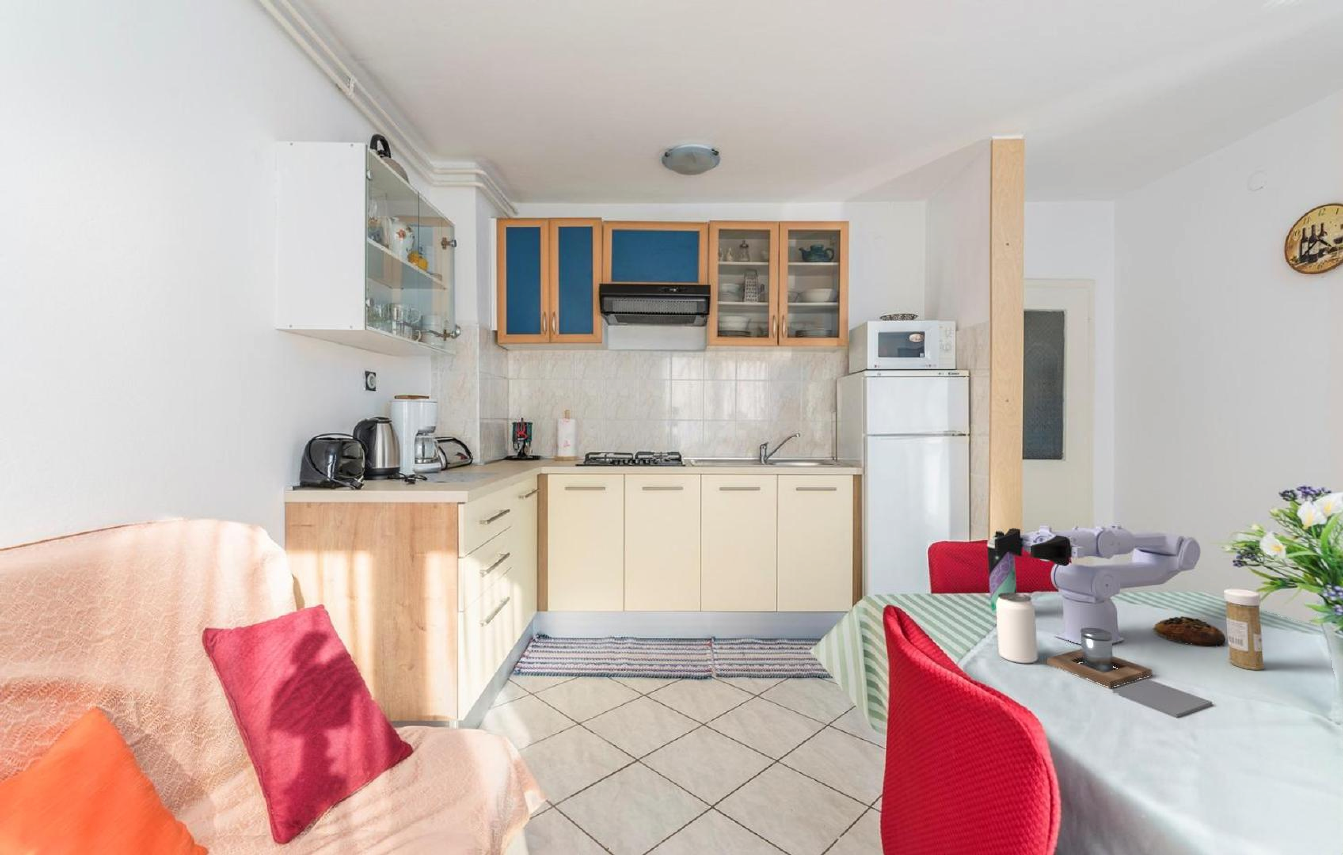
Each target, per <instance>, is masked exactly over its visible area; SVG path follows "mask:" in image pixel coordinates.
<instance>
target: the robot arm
mask: <svg viewBox="0 0 1343 855" xmlns="http://www.w3.org/2000/svg"><path fill="white" fill-rule="evenodd" d="M995 549H996V550H1000V551H1007V552H1009V553H1010V554H1012V555H1014V556H1018V557H1023V551H1025V552H1027V553H1028V554H1030V558H1034V559H1038V560H1041V561H1043V562H1052V563H1053V564H1054V565H1053V566H1052V568H1051V572H1050V578H1051V579H1050V580H1051V583H1052V585H1053V587H1054V588H1055V589H1056V590H1058V595H1062V596H1061V597H1062V598H1061V599H1062V612H1063V624H1064V625H1063V631H1060V632H1057V633H1054V637H1056V638H1059V639H1062V640H1065V641H1068V640H1069V641H1068V642H1070V641H1071V643H1073V642H1074V644H1076V643H1079V644H1081V629H1082V628H1097V629H1102V630H1105V631H1108V632H1110V633H1111V636H1112V643H1114V644H1117V643H1120V642H1119V641H1121V642H1123V641H1124V638H1123V637H1121V636H1119V622H1118V620H1119V619H1118V609H1117V607H1116V604H1115V603H1114V601H1113V600H1112V599H1111V598H1112V597H1114V596H1116V595H1117V596H1118V595H1120V591H1121V589H1131V588H1132V589H1133V588H1141V587H1149V586H1150V587H1151V586H1159V585H1163V584H1165V583H1167V582H1169V581H1170V580H1171V579H1173V578H1174V577H1175V576H1176V575H1179V574H1180V573H1182V572H1185V571H1190V570H1194V569H1195V567H1196V566H1197V564H1198V562H1199V560H1200V557H1201V547H1200V543H1199V542H1198V541H1197V540H1196V539H1195V538H1194V537H1192V536H1187V537H1186V536H1182V535H1177V534H1172V533H1165V532H1160V531H1159V532H1158V531H1151V530H1136V531H1129V530H1128V529H1126V528H1125V527H1124V528H1123V527H1122V526H1121V525H1119V524H1110V525H1109V527H1105V526H1102V525H1101V526H1100V525H1097V526H1095V528H1088V527H1082V526H1081V527H1079V526H1073V527H1072V528H1071V529H1061V530H1052V527H1051V526H1049V525H1040V526H1039V530H1036V531H1033V532H1028V533H1022V534H1021V529H1020V528H1017V527H1016V528H1014V527H1013V528H1009V529H1008V531H1007V532H1006V533H1004V535H1003V536H1001V537H999V538H996V539H995ZM1131 552H1133V553H1132V558H1131V562H1123V563H1113V564H1112V563H1111V564H1110V563H1109V564H1100V565H1088V564H1079V563H1073V562H1070V559H1084V557H1094V558H1099V559H1100V558H1101V559H1107V560H1110V559H1112V558H1113V556H1117V555H1120V556H1121V555H1127V554H1130V553H1131ZM1122 640H1123V641H1122ZM1116 642H1117V643H1116ZM1079 644H1078V645H1079Z"/></svg>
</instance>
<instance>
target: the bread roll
mask: <svg viewBox="0 0 1343 855" xmlns="http://www.w3.org/2000/svg"><path fill="white" fill-rule="evenodd" d="M1152 628H1153V631H1154V632H1156V634H1157V635H1158V636H1160V635H1161V637H1163V638H1165V639H1166V638H1167V639H1166V640H1169V639H1170V641H1175V642H1178V643H1182V644H1186V643H1187V645H1192V646H1195V647H1196V646H1197V647H1207V648H1208V647H1209V648H1210V647H1211V648H1213V647H1214V648H1219V647H1222V646H1224V645H1225V643H1226V639H1227V638H1226V636H1225V634H1224V633H1223V632H1222V630H1220V629H1219V628H1218V627H1216V626H1215V625H1212V624H1209V623H1208V622H1206V621H1203V620H1202V619H1199V618H1192V617H1188V616H1183V615H1182V616H1180V617H1177V616H1175V617H1169V619H1163V620H1160V621H1159V622H1157V623H1156V624H1154V627H1152Z"/></svg>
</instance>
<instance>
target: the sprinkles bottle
mask: <svg viewBox="0 0 1343 855" xmlns="http://www.w3.org/2000/svg"><path fill="white" fill-rule="evenodd" d="M1223 592H1224V593H1223V595H1224V597H1223V598H1224V601H1225V609H1226V611H1225V612H1226V630H1227V631H1226V632H1227V643H1228V649H1229V659H1228V661H1229V663H1230V664H1231V665H1233V666H1235V667H1238V668H1242V669H1244V670H1245V669H1246V670H1252V671H1260V670H1264V669H1265V664H1264V657H1263V655H1264V654H1263V648H1264V647H1263V639H1262V638H1263V637H1262V627H1261V626H1262V625H1261V618H1260V616H1261V615H1260V605H1261V596H1260V594H1259V593H1258V592H1255V591H1252V590H1248V589H1247V590H1246V589H1241V588H1239V589H1238V588H1227V589H1224V591H1223Z"/></svg>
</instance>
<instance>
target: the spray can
mask: <svg viewBox="0 0 1343 855" xmlns="http://www.w3.org/2000/svg"><path fill="white" fill-rule="evenodd" d="M1003 535H1005V532H1004V531H1003V530H1002V531H1001V530H995V534H994V535H993V536H992V538H990V539H988V540H987V543H986V544H987V545H986V547H987V564H988V566H987V567H988V580H989V583H988V584H989V600H990V612H991V615H992V616H993V617H995V618H997V612H996V602H997V600H998V598H999V597H998V594H1000V593H1017V577H1016V564H1015V563H1016V562H1015V561H1016V560H1015V555H1012V554H1010V553H1009V552H1007V551H1000V550H996V549H995V539H996V538H999V537H1001V536H1003Z"/></svg>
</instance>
